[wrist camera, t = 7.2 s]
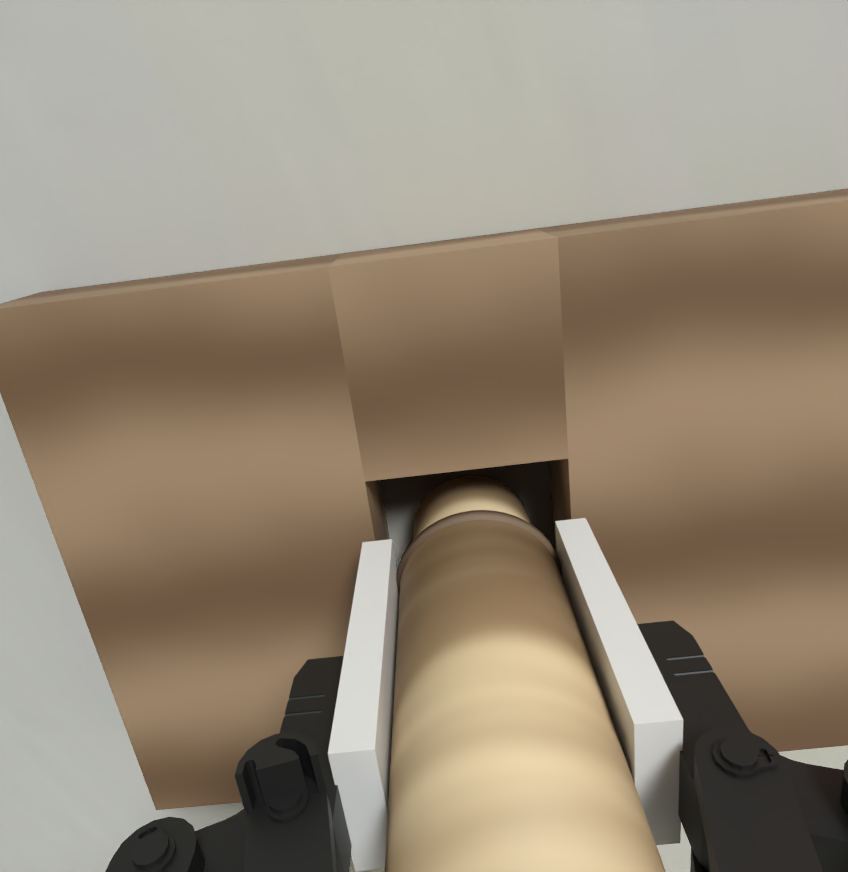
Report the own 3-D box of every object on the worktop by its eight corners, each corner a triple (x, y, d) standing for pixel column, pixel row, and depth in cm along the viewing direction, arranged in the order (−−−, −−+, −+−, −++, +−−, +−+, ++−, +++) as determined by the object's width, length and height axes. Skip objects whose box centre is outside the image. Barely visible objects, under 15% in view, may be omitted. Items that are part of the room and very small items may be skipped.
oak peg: (390, 471, 19) (342, 910, 7) (538, 454, 18) (720, 877, 7) (409, 595, 20) (394, 1117, 9) (546, 581, 20) (707, 1094, 9)
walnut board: (41, 292, 18) (-30, 312, 15) (858, 187, 17) (944, 188, 14) (187, 736, 24) (156, 809, 21) (805, 675, 23) (858, 744, 20)
